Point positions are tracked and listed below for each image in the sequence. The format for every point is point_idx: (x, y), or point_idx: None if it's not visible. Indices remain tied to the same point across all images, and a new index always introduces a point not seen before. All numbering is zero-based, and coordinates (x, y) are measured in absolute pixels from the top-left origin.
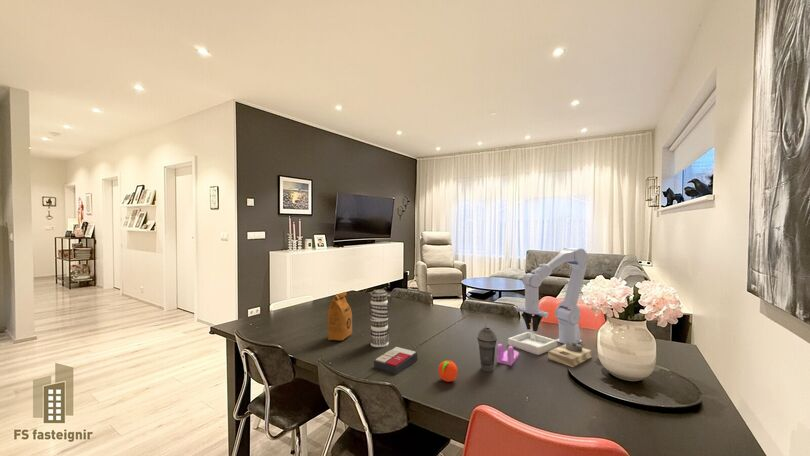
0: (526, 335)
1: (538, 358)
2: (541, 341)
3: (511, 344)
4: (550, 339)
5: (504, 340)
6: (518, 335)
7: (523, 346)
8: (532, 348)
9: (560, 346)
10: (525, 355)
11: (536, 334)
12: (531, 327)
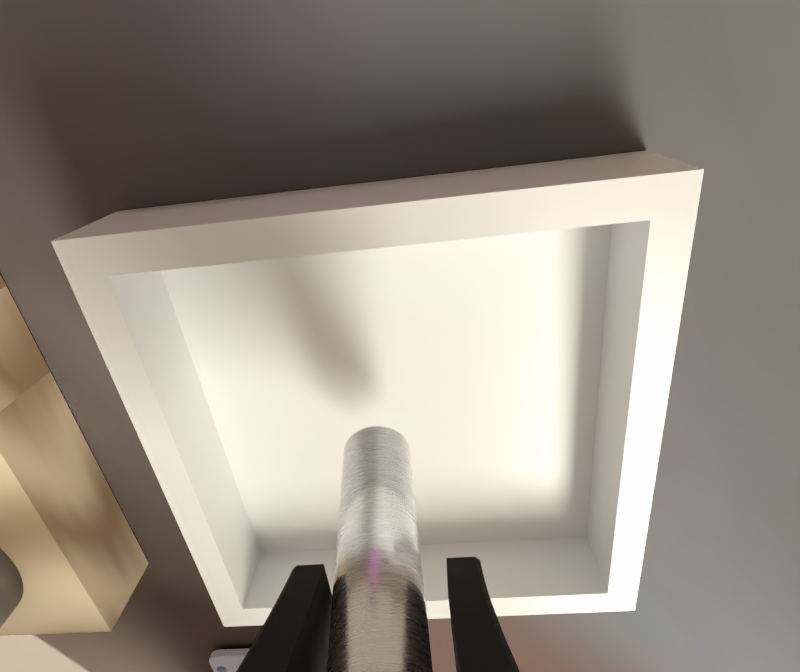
0: (600, 544)
1: (14, 115)
2: None
3: (583, 161)
4: None
5: (796, 258)
6: (640, 433)
7: (343, 196)
8: (172, 220)
9: (37, 523)
10: (173, 25)
11: None
12: (360, 628)
